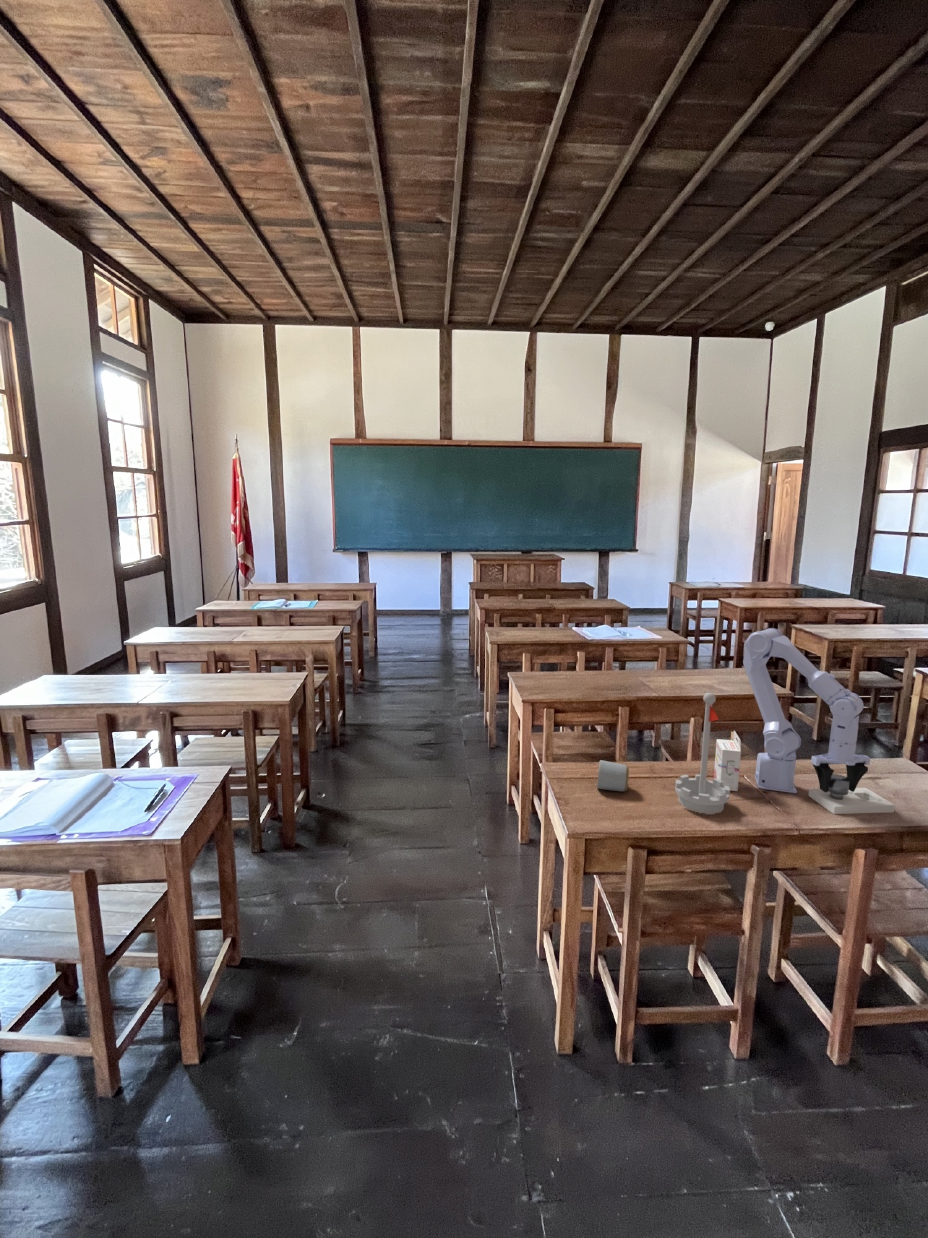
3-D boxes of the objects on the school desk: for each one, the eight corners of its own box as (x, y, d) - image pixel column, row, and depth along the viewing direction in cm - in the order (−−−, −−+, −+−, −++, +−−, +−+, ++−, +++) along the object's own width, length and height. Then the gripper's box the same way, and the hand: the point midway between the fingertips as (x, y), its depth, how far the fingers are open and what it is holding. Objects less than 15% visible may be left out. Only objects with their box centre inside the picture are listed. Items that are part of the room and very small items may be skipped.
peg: (827, 799, 153) (829, 780, 152) (822, 791, 157) (825, 772, 157) (850, 803, 151) (852, 783, 150) (844, 794, 156) (846, 775, 155)
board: (833, 814, 149) (834, 806, 149) (808, 796, 159) (809, 789, 159) (893, 812, 151) (894, 805, 150) (864, 794, 160) (865, 787, 160)
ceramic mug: (627, 797, 158) (629, 769, 157) (596, 793, 160) (598, 766, 159) (627, 781, 168) (628, 755, 167) (597, 777, 170) (599, 752, 169)
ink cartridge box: (712, 777, 170) (716, 728, 168) (730, 778, 170) (735, 729, 167) (718, 790, 162) (723, 739, 160) (738, 792, 161) (742, 740, 159)
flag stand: (666, 793, 160) (673, 686, 155) (712, 792, 161) (721, 685, 156) (688, 817, 147) (697, 701, 142) (738, 815, 148) (748, 700, 143)
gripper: (826, 746, 147) (820, 798, 149) (881, 745, 148) (875, 796, 151) (808, 736, 154) (802, 785, 156) (861, 735, 155) (855, 784, 157)
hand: (837, 790), depth 154 cm, fingers open, 7 cm apart
